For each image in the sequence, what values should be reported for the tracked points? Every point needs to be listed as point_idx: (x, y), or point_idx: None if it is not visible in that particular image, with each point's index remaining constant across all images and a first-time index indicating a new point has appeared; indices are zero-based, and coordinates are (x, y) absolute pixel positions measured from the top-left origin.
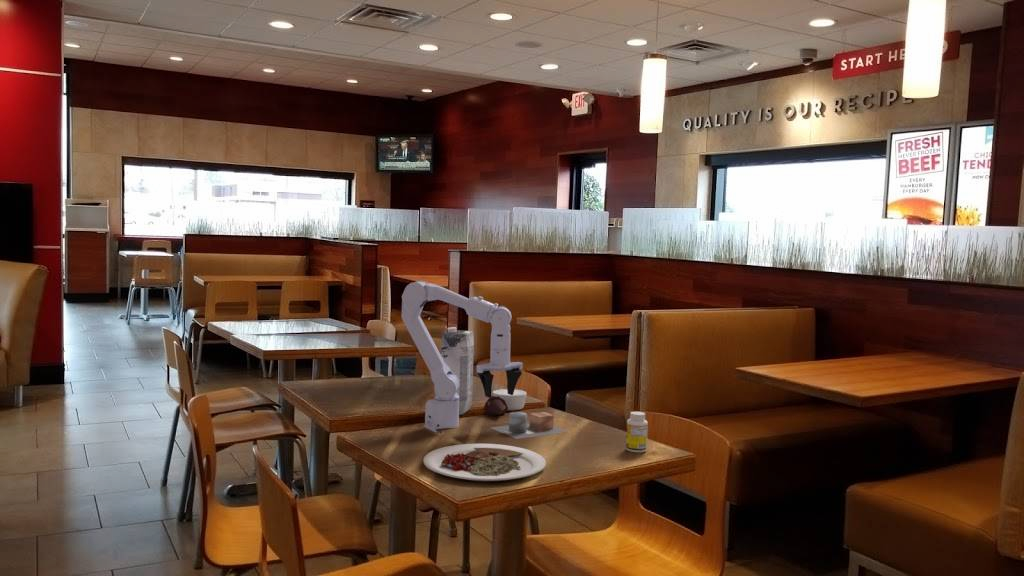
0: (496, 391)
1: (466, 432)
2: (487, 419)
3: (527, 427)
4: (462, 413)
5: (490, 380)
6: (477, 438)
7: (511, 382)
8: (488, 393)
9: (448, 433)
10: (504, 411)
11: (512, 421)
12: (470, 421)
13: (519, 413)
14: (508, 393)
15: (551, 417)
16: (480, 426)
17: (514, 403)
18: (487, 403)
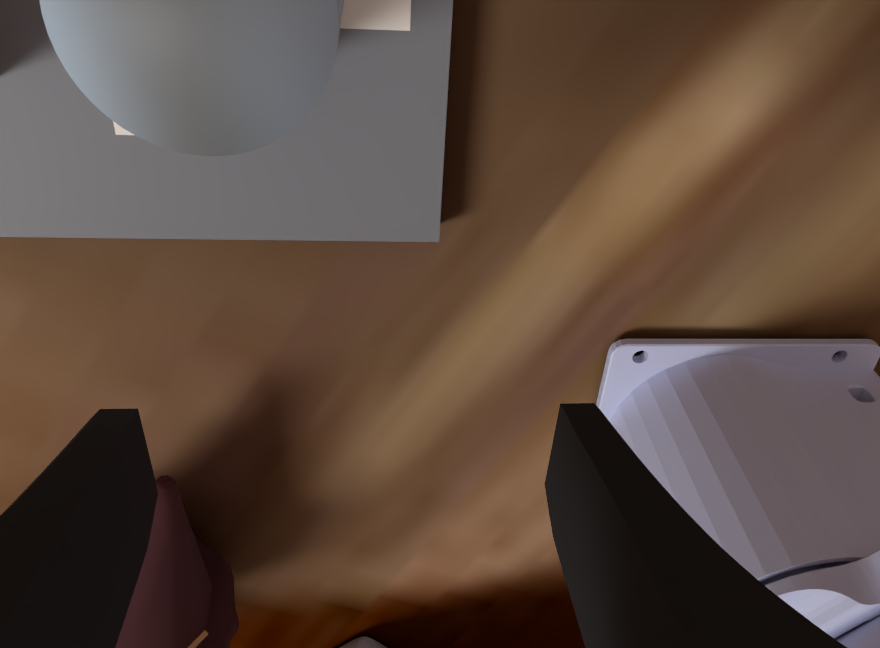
0: None
1: (650, 270)
2: (245, 512)
3: (32, 67)
4: (359, 641)
5: (750, 641)
6: (725, 40)
7: (57, 624)
8: (625, 451)
9: (794, 302)
10: None
11: None
12: (402, 508)
13: (158, 39)
14: (151, 483)
15: None
16: (418, 377)
17: None
18: (210, 644)
